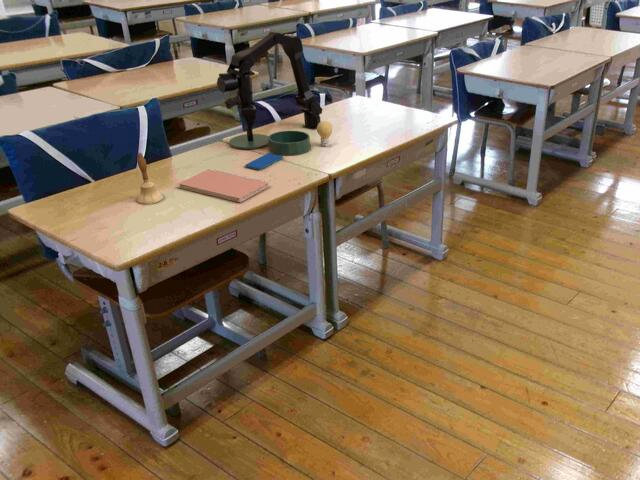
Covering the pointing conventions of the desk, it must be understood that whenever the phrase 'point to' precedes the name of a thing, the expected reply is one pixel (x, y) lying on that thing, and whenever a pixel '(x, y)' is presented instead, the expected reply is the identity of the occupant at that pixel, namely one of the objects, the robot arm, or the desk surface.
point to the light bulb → (324, 132)
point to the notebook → (224, 185)
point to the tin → (289, 143)
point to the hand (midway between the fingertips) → (248, 126)
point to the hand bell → (147, 185)
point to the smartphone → (264, 161)
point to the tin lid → (249, 140)
